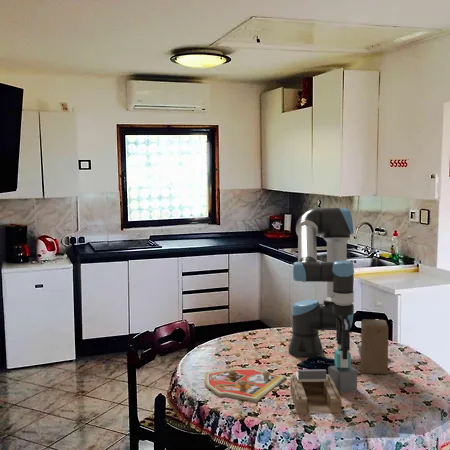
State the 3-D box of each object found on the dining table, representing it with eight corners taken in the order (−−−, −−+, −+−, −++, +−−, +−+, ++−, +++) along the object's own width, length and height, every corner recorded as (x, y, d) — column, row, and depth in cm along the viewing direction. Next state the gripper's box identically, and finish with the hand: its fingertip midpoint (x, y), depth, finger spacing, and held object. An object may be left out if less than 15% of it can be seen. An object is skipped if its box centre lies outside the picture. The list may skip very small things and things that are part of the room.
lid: (295, 374, 207) (295, 364, 206) (324, 374, 206) (324, 363, 206) (297, 381, 200) (297, 371, 199) (327, 381, 200) (327, 370, 199)
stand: (328, 387, 208) (328, 366, 208) (344, 383, 211) (344, 363, 211) (340, 394, 202) (340, 373, 201) (356, 390, 205) (357, 369, 204)
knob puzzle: (256, 405, 195) (256, 393, 194) (186, 390, 209) (185, 379, 208) (288, 377, 220) (288, 366, 220) (223, 365, 234) (223, 355, 234)
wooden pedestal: (290, 392, 205) (290, 375, 204) (331, 391, 204) (331, 374, 204) (296, 415, 186) (296, 396, 185) (341, 414, 185) (341, 395, 185)
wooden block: (387, 375, 219) (388, 326, 217) (361, 373, 221) (362, 325, 219) (385, 366, 229) (386, 319, 227) (360, 365, 231) (361, 318, 229)
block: (334, 363, 208) (334, 350, 207) (347, 362, 208) (348, 350, 207) (337, 367, 203) (337, 354, 202) (350, 367, 203) (350, 354, 202)
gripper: (328, 297, 212) (328, 356, 214) (337, 309, 194) (337, 373, 196) (348, 297, 212) (347, 356, 214) (358, 309, 194) (358, 373, 196)
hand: (342, 364), depth 205 cm, fingers closed on block, 5 cm apart
